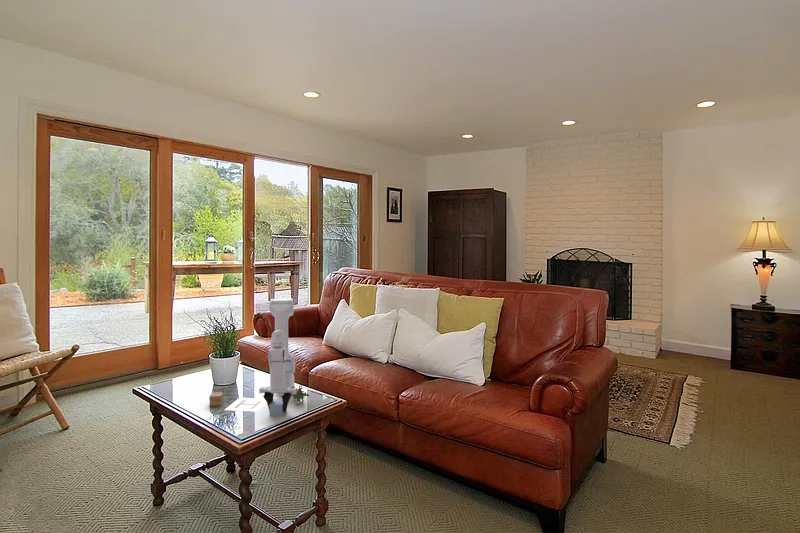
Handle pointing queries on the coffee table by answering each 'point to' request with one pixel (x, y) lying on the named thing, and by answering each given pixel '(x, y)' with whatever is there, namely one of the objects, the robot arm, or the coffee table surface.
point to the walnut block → (216, 399)
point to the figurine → (299, 394)
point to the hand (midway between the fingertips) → (278, 411)
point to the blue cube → (276, 408)
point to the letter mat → (247, 404)
